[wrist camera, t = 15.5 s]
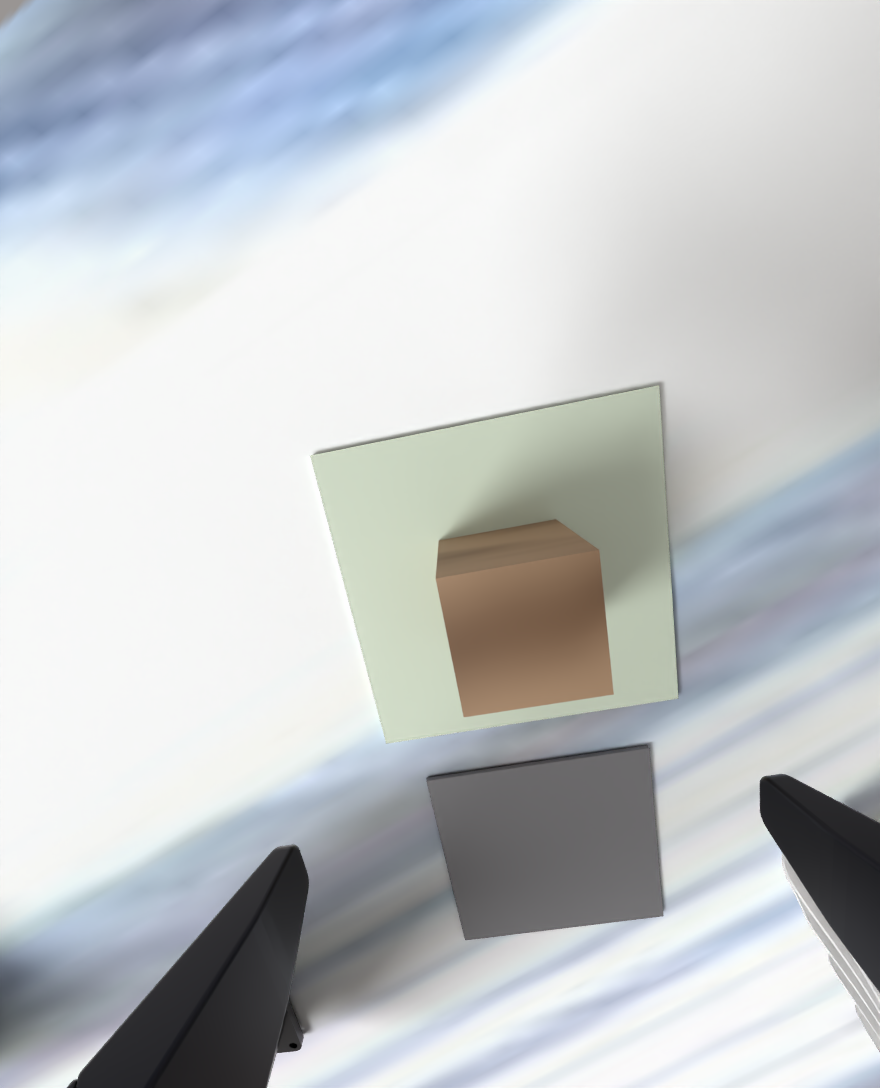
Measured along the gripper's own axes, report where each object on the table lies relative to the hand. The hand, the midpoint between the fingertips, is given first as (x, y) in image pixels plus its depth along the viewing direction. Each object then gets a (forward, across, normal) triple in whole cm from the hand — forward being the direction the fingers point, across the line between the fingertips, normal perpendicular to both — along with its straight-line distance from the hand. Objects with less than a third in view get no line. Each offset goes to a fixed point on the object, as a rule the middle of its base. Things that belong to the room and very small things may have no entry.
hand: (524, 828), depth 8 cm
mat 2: (+11, -1, +14) cm, 18 cm away
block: (+10, -1, -1) cm, 11 cm away
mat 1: (+11, -1, -1) cm, 11 cm away
